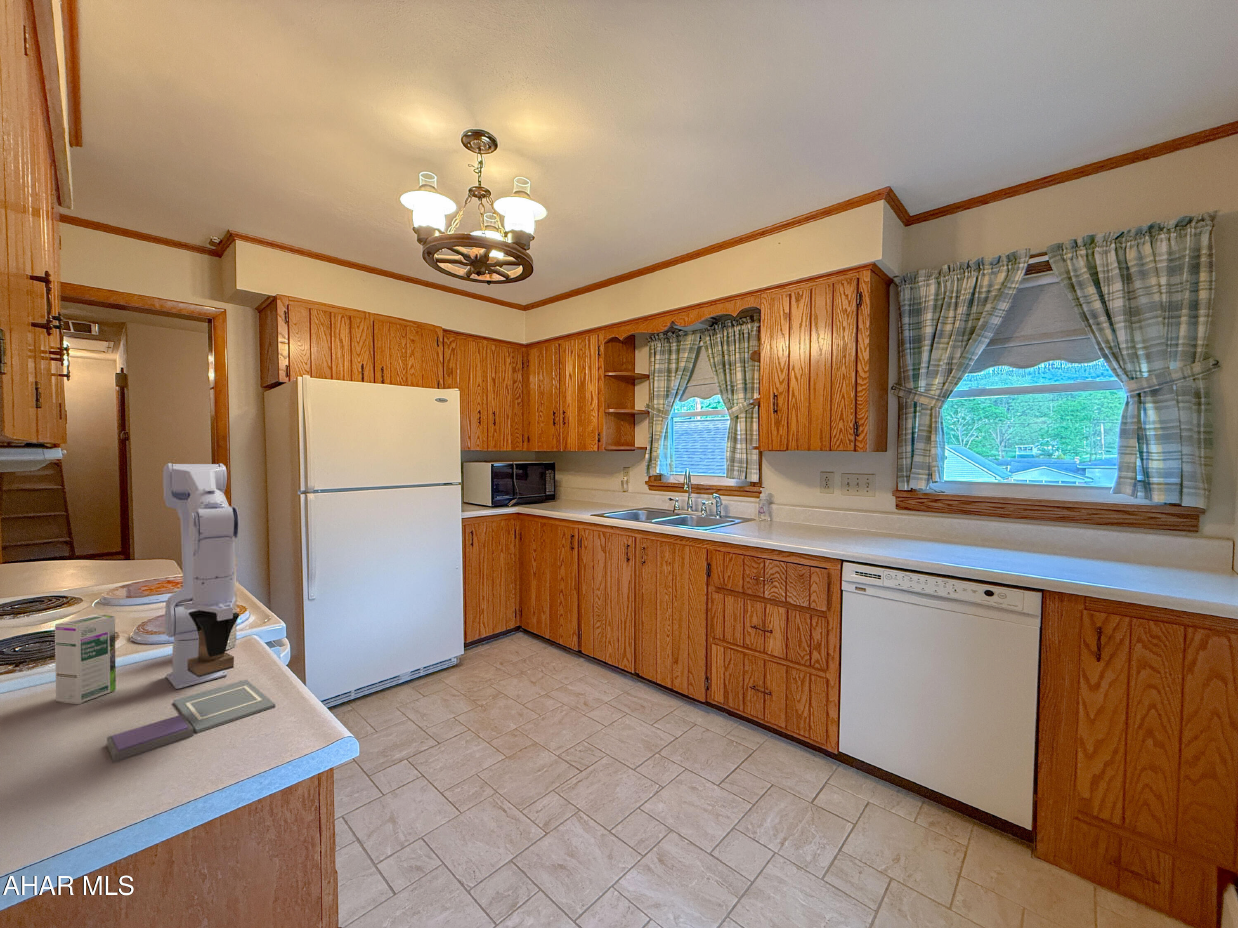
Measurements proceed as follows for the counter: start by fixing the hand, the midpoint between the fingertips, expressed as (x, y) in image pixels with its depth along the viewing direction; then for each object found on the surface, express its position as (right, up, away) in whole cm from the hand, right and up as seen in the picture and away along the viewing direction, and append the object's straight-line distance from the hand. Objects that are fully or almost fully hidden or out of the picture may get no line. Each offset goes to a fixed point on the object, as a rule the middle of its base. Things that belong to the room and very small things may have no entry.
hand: (213, 651), depth 87 cm
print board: (0, -10, +2) cm, 10 cm away
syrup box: (-28, -10, +5) cm, 30 cm away
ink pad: (-2, -10, -10) cm, 14 cm away
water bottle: (-22, -10, +28) cm, 37 cm away
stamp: (0, -3, 0) cm, 3 cm away
